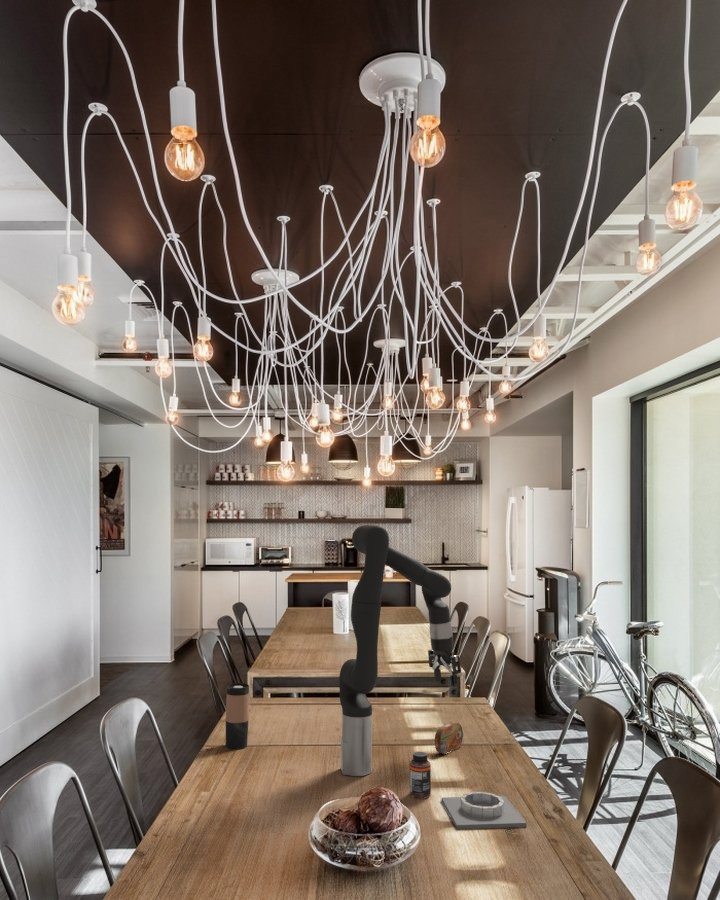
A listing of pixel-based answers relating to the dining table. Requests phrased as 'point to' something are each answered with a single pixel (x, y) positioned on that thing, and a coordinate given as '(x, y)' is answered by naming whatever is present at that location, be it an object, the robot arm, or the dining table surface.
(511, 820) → the duct base board
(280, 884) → the dining table surface
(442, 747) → the tin
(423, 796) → the supplement bottle
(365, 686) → the robot arm
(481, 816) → the collar
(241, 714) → the travel mug
